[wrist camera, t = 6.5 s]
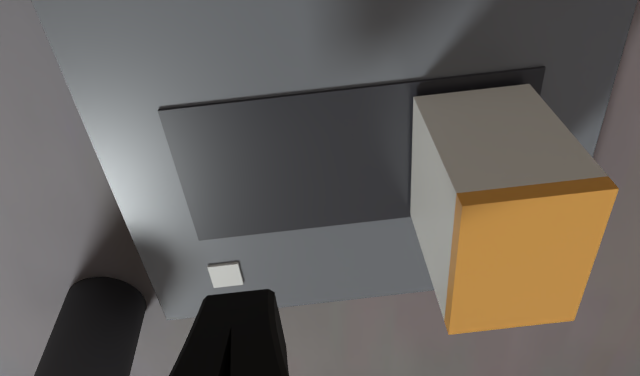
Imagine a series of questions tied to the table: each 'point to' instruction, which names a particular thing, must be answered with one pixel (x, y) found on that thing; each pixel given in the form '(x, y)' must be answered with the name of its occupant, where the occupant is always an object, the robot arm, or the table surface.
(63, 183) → the table surface
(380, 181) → the breaker panel
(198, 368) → the robot arm
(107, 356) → the cylinder
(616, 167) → the table surface
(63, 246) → the table surface
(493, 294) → the block
